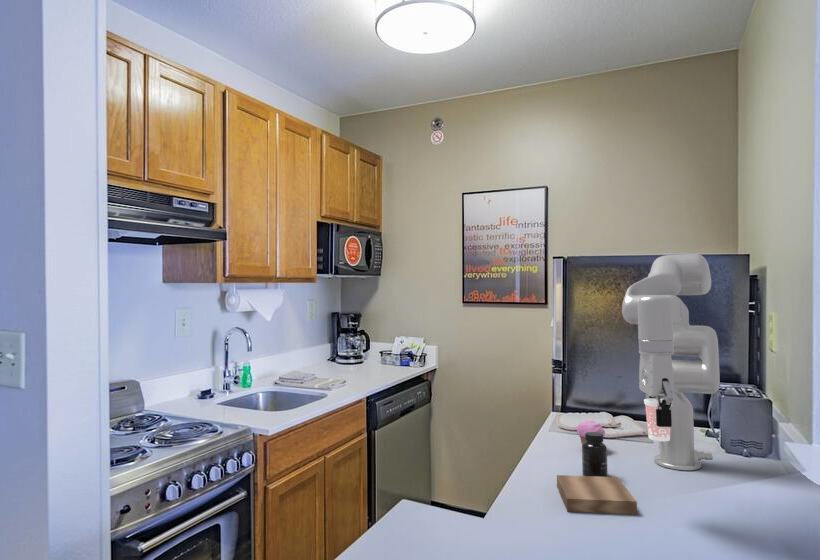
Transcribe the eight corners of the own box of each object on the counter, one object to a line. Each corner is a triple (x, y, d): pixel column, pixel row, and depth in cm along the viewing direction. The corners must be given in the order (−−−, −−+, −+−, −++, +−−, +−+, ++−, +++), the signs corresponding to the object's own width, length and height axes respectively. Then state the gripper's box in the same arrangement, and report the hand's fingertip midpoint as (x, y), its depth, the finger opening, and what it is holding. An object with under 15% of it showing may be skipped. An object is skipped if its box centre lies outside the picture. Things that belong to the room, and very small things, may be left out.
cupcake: (609, 454, 161) (608, 423, 161) (582, 455, 161) (581, 424, 161) (599, 446, 169) (598, 417, 170) (573, 447, 170) (572, 417, 170)
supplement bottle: (610, 481, 138) (608, 437, 138) (584, 479, 139) (583, 436, 140) (605, 472, 145) (604, 431, 145) (580, 471, 146) (579, 430, 146)
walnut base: (618, 488, 132) (618, 477, 133) (637, 514, 117) (636, 501, 117) (556, 486, 135) (556, 475, 135) (567, 511, 119) (566, 498, 119)
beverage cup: (646, 441, 116) (644, 381, 117) (643, 434, 122) (642, 377, 122) (675, 443, 114) (673, 382, 114) (671, 436, 120) (669, 378, 120)
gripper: (628, 343, 128) (630, 414, 127) (652, 351, 111) (655, 432, 110) (658, 343, 127) (661, 414, 126) (688, 351, 110) (691, 433, 109)
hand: (658, 422), depth 118 cm, fingers closed on beverage cup, 6 cm apart
